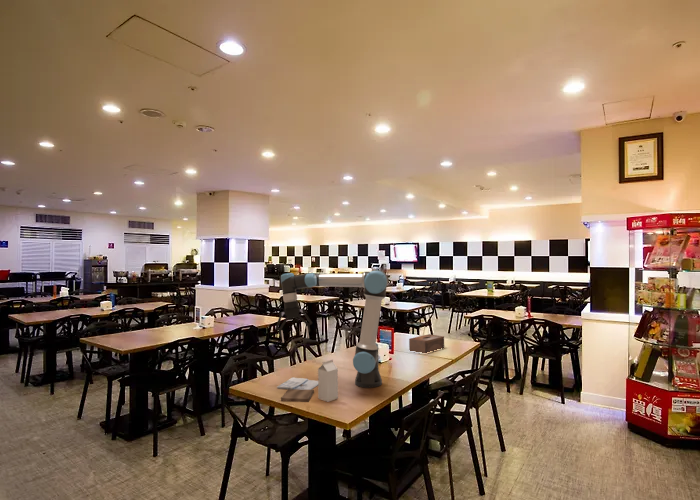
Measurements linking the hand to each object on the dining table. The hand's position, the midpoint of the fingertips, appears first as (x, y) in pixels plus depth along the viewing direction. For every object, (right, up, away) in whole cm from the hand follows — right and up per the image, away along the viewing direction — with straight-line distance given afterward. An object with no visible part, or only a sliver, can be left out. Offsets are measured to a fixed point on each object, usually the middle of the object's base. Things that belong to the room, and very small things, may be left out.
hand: (296, 340), depth 214 cm
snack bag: (+1, -28, +8) cm, 29 cm away
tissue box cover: (+89, -29, +92) cm, 132 cm away
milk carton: (+18, -26, -15) cm, 35 cm away
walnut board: (+3, -26, -12) cm, 29 cm away
